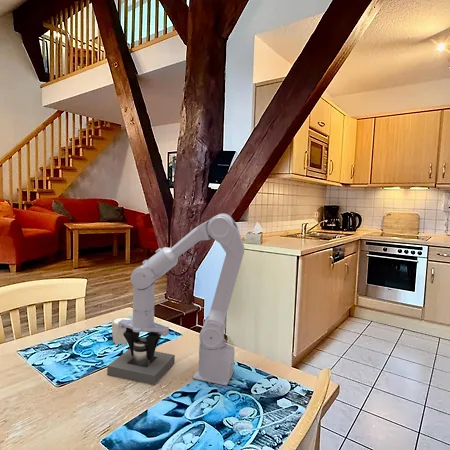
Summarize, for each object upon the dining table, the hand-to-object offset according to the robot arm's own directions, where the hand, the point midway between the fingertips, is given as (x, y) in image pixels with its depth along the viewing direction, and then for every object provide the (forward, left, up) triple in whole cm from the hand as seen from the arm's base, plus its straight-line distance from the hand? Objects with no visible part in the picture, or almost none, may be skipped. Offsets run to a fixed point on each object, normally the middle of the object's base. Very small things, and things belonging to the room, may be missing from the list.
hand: (142, 356), depth 93 cm
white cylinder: (+15, -13, -4) cm, 20 cm away
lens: (0, 0, -2) cm, 2 cm away
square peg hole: (0, 0, -4) cm, 4 cm away
